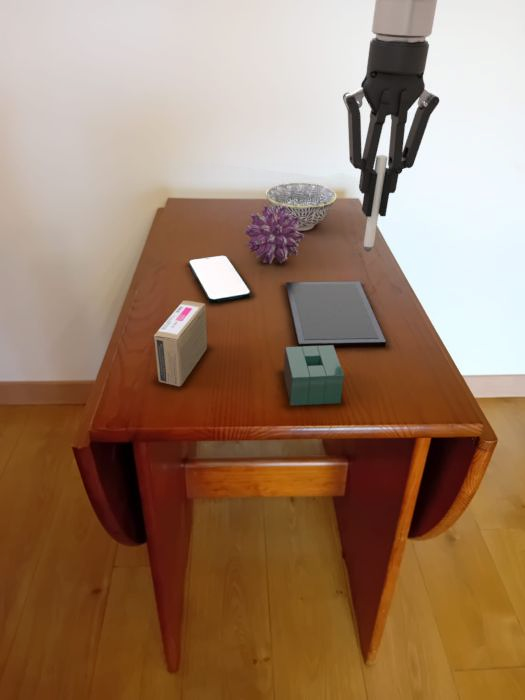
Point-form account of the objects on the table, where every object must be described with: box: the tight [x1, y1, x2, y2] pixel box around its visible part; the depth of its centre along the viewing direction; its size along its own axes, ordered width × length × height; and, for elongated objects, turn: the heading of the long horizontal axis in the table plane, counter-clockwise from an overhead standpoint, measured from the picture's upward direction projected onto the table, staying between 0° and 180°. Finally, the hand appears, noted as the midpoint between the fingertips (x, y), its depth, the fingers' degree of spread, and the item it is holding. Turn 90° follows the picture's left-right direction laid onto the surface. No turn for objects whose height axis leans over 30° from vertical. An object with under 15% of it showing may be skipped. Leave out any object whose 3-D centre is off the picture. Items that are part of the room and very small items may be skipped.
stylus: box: [363, 154, 389, 252], centre depth 83 cm, size 2×2×15 cm
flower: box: [244, 204, 305, 264], centre depth 107 cm, size 12×12×12 cm
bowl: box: [265, 181, 338, 232], centre depth 123 cm, size 16×16×8 cm
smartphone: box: [188, 255, 251, 304], centre depth 102 cm, size 8×1×16 cm
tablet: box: [285, 281, 387, 349], centre depth 93 cm, size 20×14×1 cm
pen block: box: [283, 345, 345, 407], centre depth 76 cm, size 7×7×5 cm
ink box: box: [153, 300, 208, 388], centre depth 79 cm, size 10×4×8 cm, turn 162°
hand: (373, 212), depth 83 cm, fingers closed on stylus, 2 cm apart
